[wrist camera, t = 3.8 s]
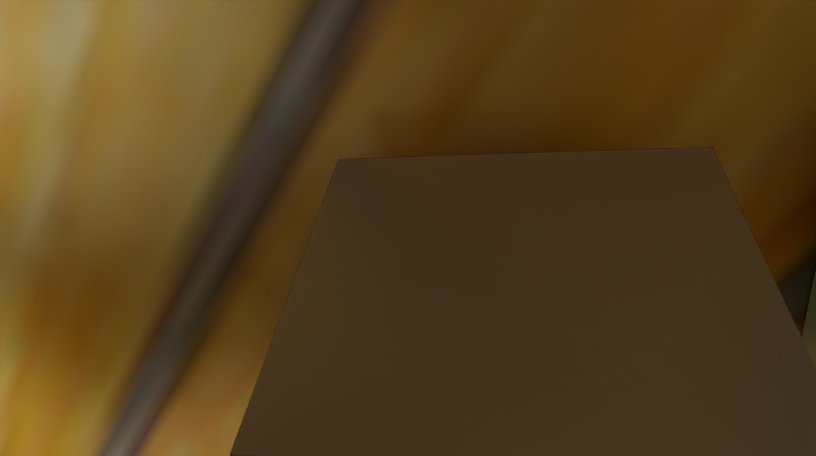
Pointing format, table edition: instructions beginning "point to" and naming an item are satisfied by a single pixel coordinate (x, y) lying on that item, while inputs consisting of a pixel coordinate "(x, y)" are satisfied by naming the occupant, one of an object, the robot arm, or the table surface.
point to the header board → (811, 324)
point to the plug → (533, 315)
